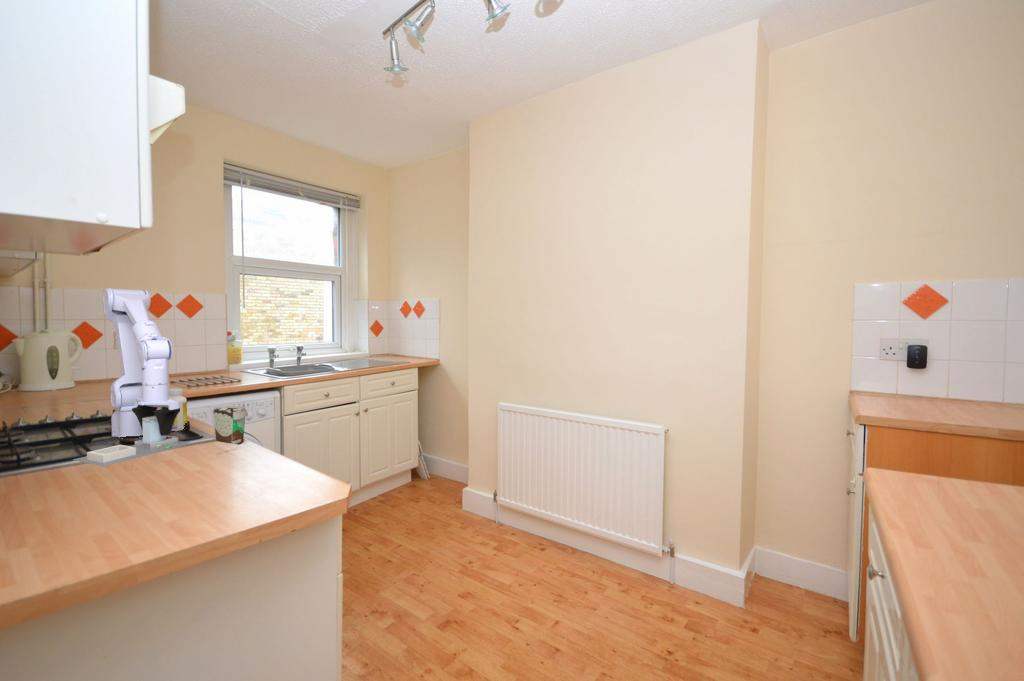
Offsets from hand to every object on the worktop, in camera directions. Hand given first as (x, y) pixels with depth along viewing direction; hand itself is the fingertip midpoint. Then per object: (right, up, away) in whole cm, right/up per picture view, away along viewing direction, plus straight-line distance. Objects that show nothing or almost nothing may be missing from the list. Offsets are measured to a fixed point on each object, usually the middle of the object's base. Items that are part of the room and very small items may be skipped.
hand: (156, 433), depth 123 cm
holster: (-4, -5, -10) cm, 11 cm away
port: (+1, -3, 0) cm, 4 cm away
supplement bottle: (-10, -3, +20) cm, 23 cm away
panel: (-2, -5, -4) cm, 7 cm away
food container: (+16, -5, +9) cm, 19 cm away
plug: (0, -3, 0) cm, 3 cm away
